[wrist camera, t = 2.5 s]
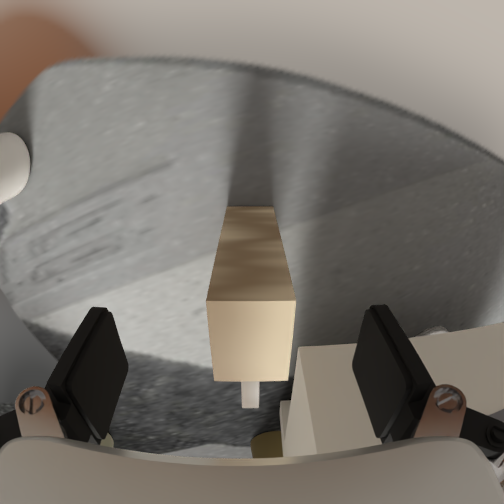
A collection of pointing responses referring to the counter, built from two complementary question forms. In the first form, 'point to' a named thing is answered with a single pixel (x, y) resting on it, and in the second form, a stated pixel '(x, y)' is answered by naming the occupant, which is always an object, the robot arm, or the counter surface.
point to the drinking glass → (13, 165)
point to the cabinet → (350, 399)
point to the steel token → (433, 331)
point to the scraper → (250, 302)
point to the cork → (267, 445)
